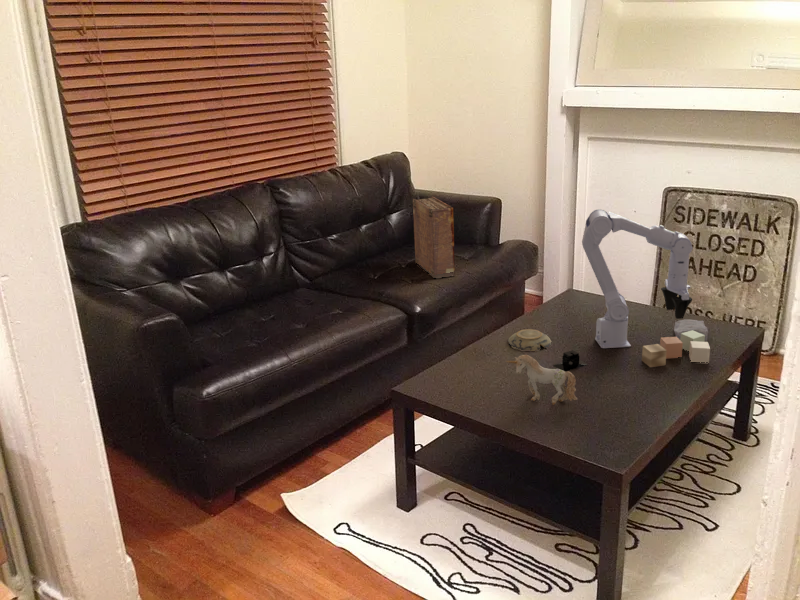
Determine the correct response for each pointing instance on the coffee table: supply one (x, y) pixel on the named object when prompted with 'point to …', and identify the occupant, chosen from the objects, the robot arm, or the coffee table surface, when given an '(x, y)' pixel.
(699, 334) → the sage cube
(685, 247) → the robot arm
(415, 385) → the coffee table surface
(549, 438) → the coffee table surface
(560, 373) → the unicorn figurine
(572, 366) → the black boxy device
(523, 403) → the coffee table surface
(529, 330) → the decorative bowl
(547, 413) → the coffee table surface
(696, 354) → the cream cube
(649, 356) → the maple cube
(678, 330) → the stone block
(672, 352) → the terracotta cube
